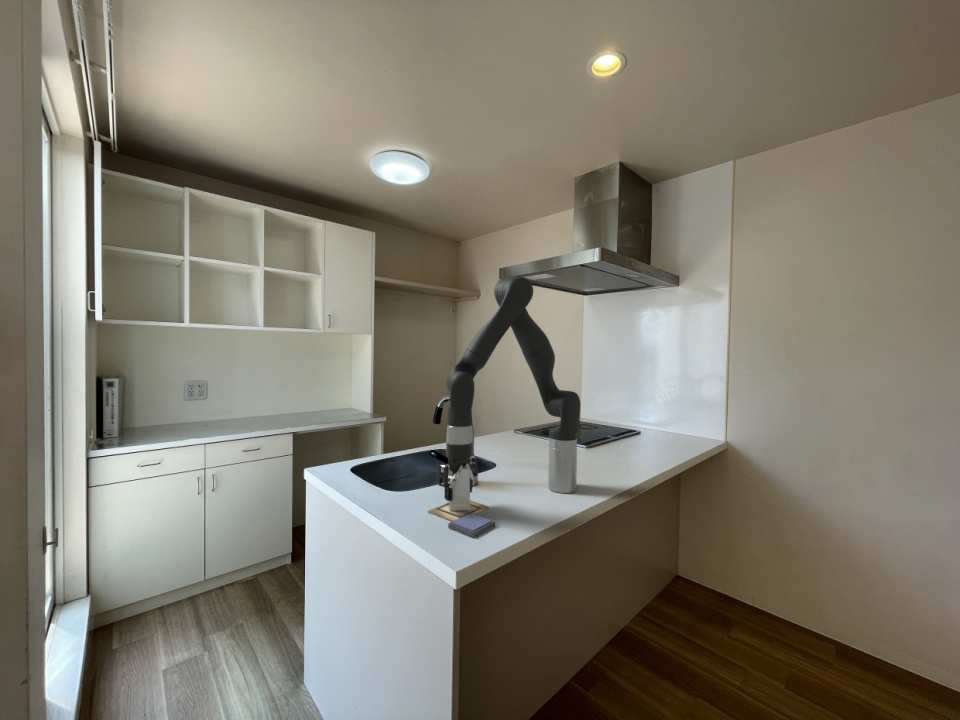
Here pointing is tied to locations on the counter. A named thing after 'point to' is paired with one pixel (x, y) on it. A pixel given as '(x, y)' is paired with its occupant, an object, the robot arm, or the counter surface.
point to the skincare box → (461, 491)
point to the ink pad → (471, 525)
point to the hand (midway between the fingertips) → (458, 496)
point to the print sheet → (454, 515)
